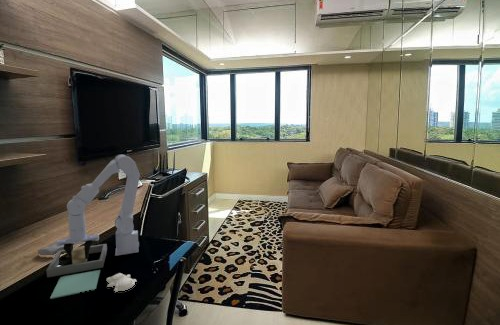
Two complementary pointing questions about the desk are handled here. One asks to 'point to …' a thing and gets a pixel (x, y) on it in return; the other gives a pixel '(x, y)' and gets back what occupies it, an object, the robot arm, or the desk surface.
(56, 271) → the box
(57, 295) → the teal mat
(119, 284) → the white fluffy flat lump
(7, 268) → the desk surface
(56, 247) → the stone block
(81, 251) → the maple block
